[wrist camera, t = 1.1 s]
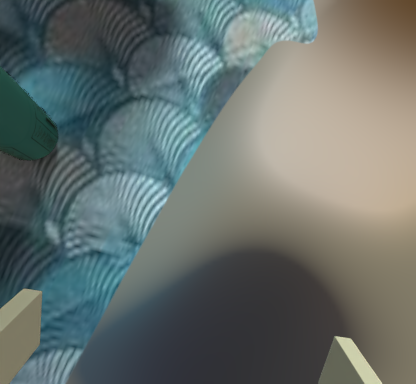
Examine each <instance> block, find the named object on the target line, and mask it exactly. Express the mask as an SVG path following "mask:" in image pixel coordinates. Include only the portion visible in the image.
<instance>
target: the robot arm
mask: <svg viewBox="0 0 416 384" xmlns="http://www.w3.org/2000/svg"><path fill="white" fill-rule="evenodd" d="M41 304H42V291H37V290H31V289H23V290H22V291H20V292H19V293H18V294H17V295H16V296H15V297H13V298H12V299H11V300H10V301H9V302H8V303H7V304H5V305H4V306H3V307H2V308H1V309H0V384H9V383H10V382H11V380H12V379H13V378H14V377H15V375H16V374H17V373H18V371H19V370H20V369H21V368H22V366H23V365H24V364H25V362H26V361H27V360H28V359H29V357H30V356H31V355H32V353H33V352H34V351H35V350H36V348H37V347H38V346H39V344H40V326H41ZM318 384H382V383H381V381H380V380H379V378H378V377H377V375H376V374H375V373H374V371H373V370H372V368H371V367H370V365H369V364H368V363H367V361H366V360H365V358H364V357H363V355H362V354H361V353H360V351H359V350H358V348H357V347H356V345H355V344H354V343H353V341H352V340H351V339H349V338H342V337H336V336H335V337H334V340H333V343H332V346H331V348H330V351H329V354H328V357H327V360H326V362H325V365H324V368H323V371H322V374H321V377H320V379H319V383H318Z"/></svg>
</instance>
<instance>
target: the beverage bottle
mask: <svg viewBox="0 0 416 384" xmlns="http://www.w3.org/2000/svg"><path fill="white" fill-rule="evenodd" d="M15 80H16V79H15ZM24 90H25V89H24ZM24 90H23V89H22V88H21V87H20V86H19V85H18V84H17V83H16V82H15V81H14V80H13V79H12V78H11V77H10V76H9V73H8V74H7V73H6V72H5V71H4V70H3V69H2V68H1V67H0V151H3V152H5V153H8V155H9V154H10V155H12V156H14V157H16V158H19V159H21V160H22V159H23V160H24V161H25V160H30V161H31V160H35V159H39V158H42V157H44V156H46V155H48V154H49V153H50V152H51V151H52V150H53V149H54V147H55V146H56V143H57V140H58V133H57V129H58V128H57V127H56V126H57V125H55V124H56V123H55V122H54V123H55V124H54V123H53V121H52V120H51V119H52V118H51V119H50V118H49V117H48V116H47V115H46V114H45V112H44V111H45V110H44V109H43V108H42V109H41V107H39V106H38V105H37V104H36V102H34V101H33V100H32V99H31V98H30V97H29V94H27V91H26V92H25V91H24ZM32 98H33V97H32ZM5 153H4V154H5Z"/></svg>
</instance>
